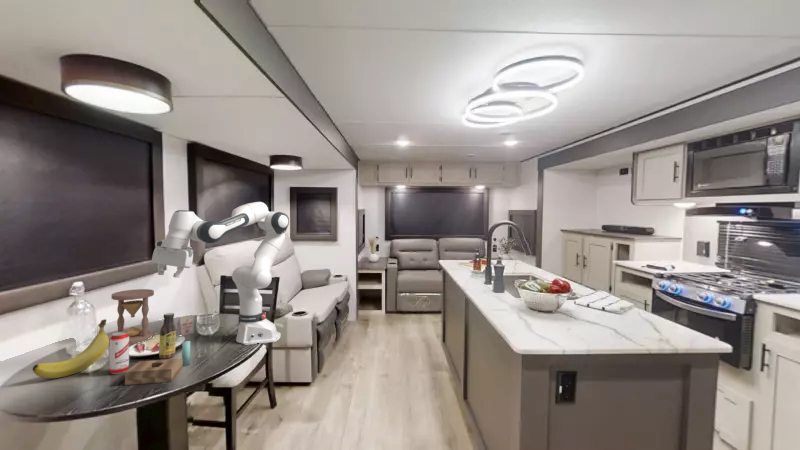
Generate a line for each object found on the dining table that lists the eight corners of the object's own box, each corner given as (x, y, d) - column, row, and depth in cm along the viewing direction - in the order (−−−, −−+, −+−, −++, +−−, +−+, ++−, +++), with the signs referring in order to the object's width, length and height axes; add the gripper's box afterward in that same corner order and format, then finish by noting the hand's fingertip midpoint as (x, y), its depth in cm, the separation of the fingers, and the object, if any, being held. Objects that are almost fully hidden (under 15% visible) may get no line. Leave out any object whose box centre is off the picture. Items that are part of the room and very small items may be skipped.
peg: (191, 363, 148) (191, 340, 148) (188, 366, 146) (188, 343, 145) (183, 363, 148) (184, 341, 148) (180, 366, 145) (181, 343, 145)
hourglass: (101, 343, 169) (102, 294, 169) (136, 332, 186) (136, 288, 186) (128, 347, 165) (129, 297, 165) (161, 335, 182) (162, 290, 182)
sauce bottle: (166, 360, 151) (167, 316, 151) (155, 358, 152) (156, 315, 152) (179, 354, 158) (179, 312, 157) (168, 353, 159) (168, 311, 159)
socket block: (182, 370, 141) (182, 358, 141) (171, 381, 131) (171, 369, 131) (139, 373, 138) (139, 361, 138) (124, 384, 128) (125, 371, 128)
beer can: (132, 369, 141) (133, 332, 141) (115, 376, 135) (116, 336, 135) (122, 367, 143) (123, 330, 143) (105, 373, 137) (106, 334, 137)
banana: (34, 386, 125) (35, 333, 125) (30, 382, 128) (31, 330, 128) (110, 365, 144) (111, 319, 144) (105, 362, 147) (106, 317, 147)
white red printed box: (176, 335, 183) (177, 317, 183) (189, 332, 189) (190, 314, 189) (180, 336, 181) (180, 318, 181) (193, 333, 187) (193, 315, 187)
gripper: (199, 248, 148) (192, 279, 145) (166, 244, 154) (158, 273, 152) (187, 246, 142) (178, 278, 140) (153, 241, 148) (144, 272, 146)
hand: (168, 276), depth 146 cm, fingers open, 8 cm apart
